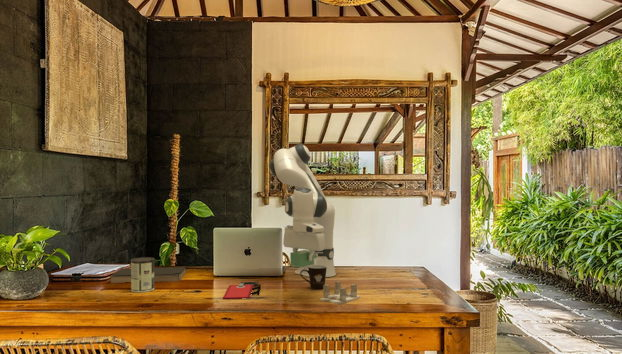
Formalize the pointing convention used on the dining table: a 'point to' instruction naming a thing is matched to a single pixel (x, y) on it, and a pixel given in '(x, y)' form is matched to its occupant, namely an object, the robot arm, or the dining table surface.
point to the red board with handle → (242, 290)
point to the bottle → (301, 258)
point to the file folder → (159, 274)
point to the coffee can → (142, 274)
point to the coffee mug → (316, 276)
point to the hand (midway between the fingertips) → (303, 259)
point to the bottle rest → (339, 294)
